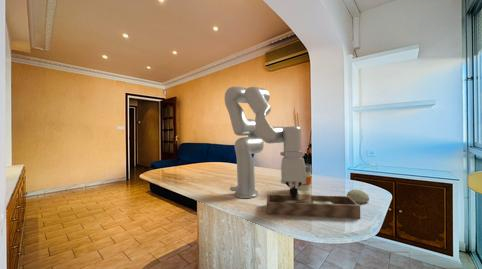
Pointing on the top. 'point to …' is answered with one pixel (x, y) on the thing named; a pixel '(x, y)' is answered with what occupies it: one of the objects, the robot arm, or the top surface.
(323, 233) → the top surface
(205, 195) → the top surface
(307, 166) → the reusable coffee cup
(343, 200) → the tray
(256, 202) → the top surface
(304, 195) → the maple block
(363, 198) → the sea urchin shell
